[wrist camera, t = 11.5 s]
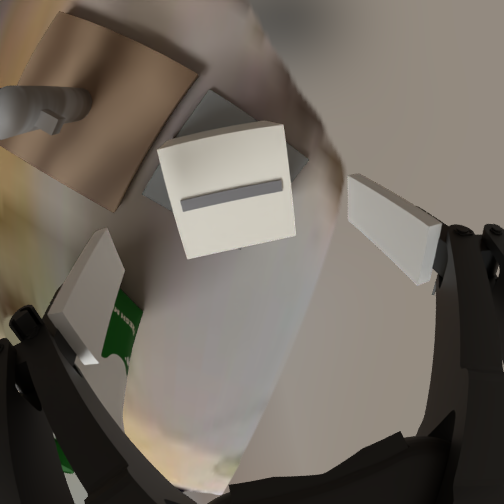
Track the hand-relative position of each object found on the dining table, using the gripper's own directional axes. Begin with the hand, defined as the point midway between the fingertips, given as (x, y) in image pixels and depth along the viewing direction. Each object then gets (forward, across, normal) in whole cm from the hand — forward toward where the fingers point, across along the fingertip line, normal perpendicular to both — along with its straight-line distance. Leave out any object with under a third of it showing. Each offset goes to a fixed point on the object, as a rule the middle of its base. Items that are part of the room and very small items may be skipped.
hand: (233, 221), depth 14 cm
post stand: (+12, -11, +9) cm, 19 cm away
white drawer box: (+11, +1, 0) cm, 11 cm away
